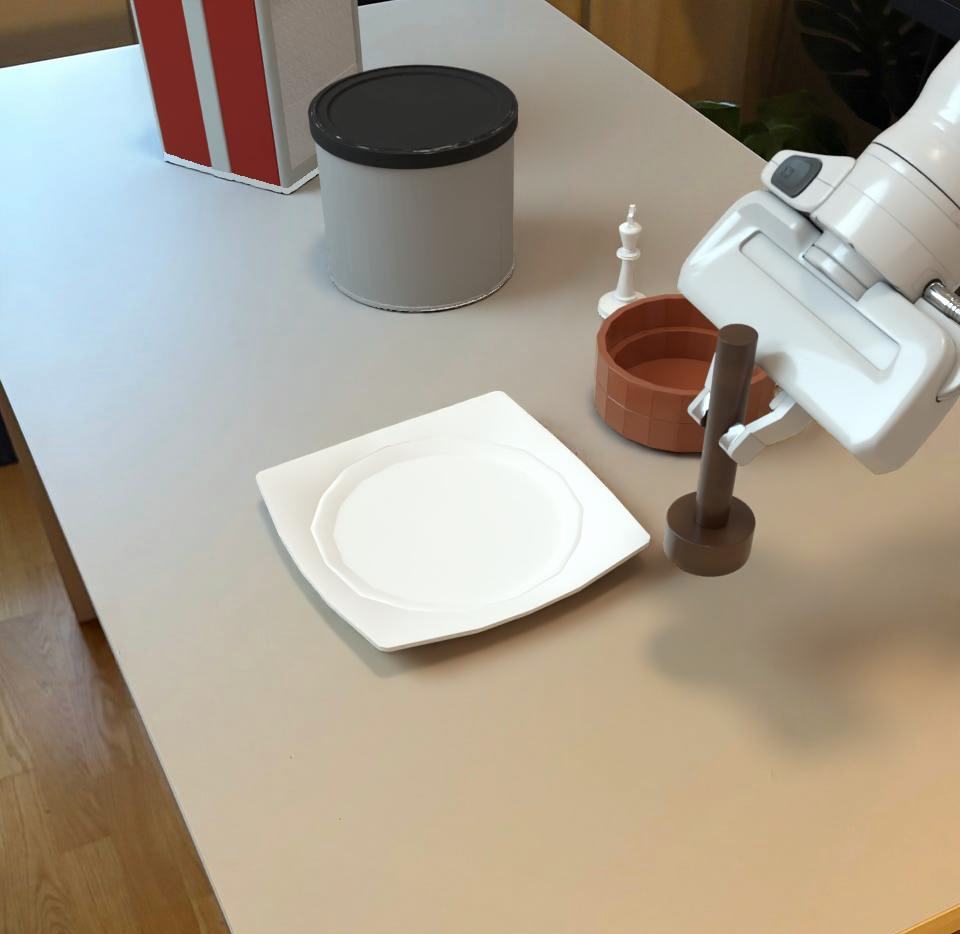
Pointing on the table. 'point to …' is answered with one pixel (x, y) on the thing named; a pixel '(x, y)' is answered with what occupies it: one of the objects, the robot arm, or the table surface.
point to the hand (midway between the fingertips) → (713, 438)
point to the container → (416, 184)
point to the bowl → (661, 372)
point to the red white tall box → (244, 78)
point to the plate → (447, 523)
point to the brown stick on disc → (717, 472)
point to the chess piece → (624, 269)
